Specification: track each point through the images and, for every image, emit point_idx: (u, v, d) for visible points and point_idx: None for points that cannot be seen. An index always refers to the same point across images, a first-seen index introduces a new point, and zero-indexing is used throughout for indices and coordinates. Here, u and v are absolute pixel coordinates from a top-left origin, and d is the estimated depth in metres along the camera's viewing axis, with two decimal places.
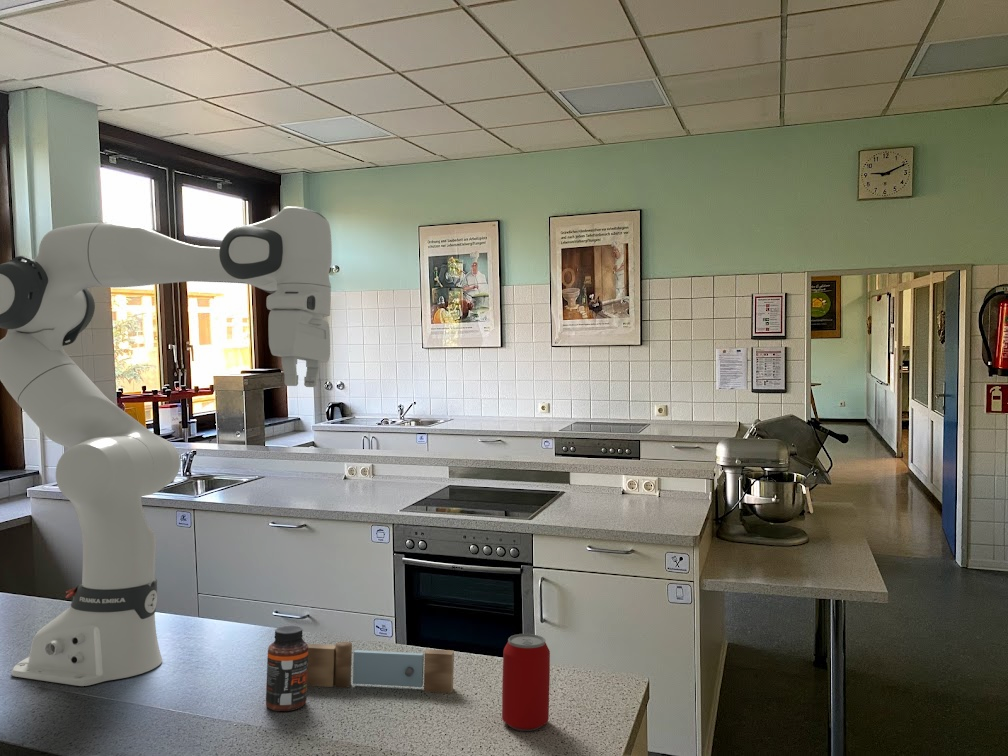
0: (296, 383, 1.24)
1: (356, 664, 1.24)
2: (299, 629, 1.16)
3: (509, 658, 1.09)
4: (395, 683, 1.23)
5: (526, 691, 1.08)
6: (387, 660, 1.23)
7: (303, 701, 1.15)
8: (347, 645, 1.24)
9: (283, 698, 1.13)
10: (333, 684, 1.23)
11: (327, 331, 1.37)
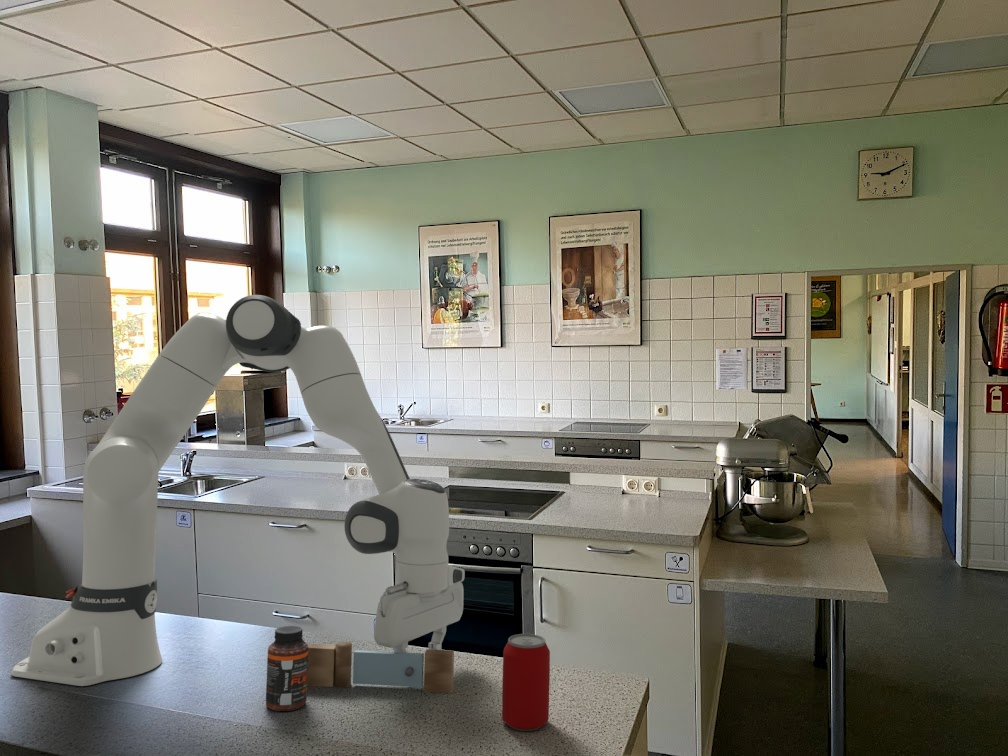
0: None
1: (356, 664, 1.24)
2: (299, 629, 1.16)
3: (509, 658, 1.09)
4: (395, 683, 1.23)
5: (526, 691, 1.08)
6: (387, 660, 1.23)
7: (303, 701, 1.15)
8: (347, 645, 1.24)
9: (283, 698, 1.13)
10: (333, 684, 1.23)
11: None
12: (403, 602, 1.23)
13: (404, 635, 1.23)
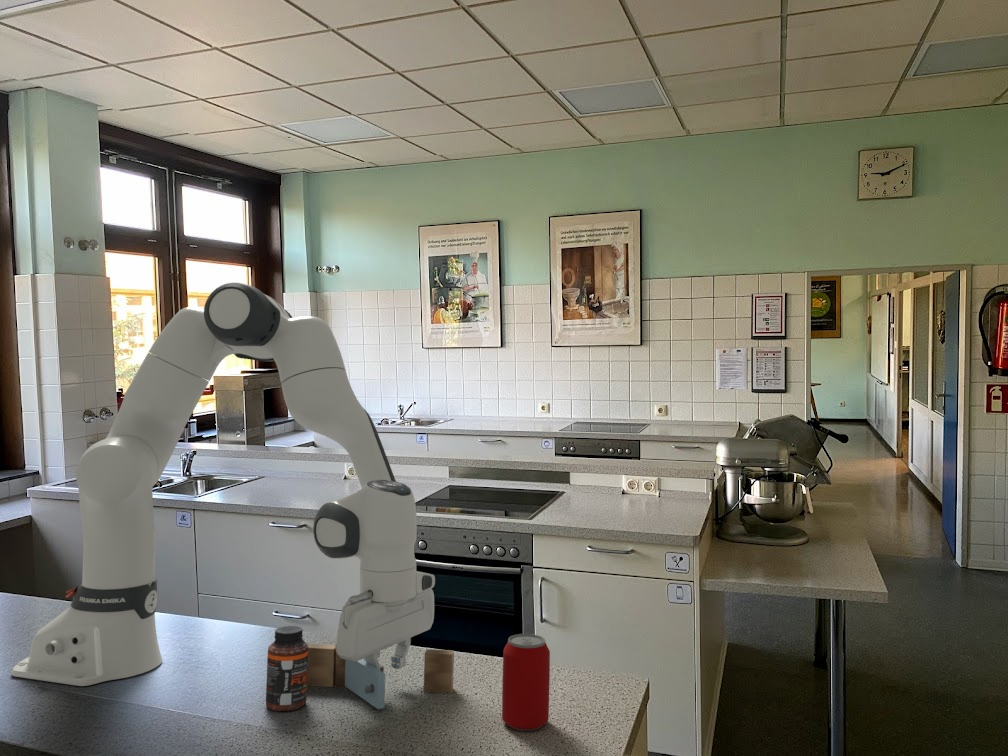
0: None
1: (346, 667, 1.22)
2: (299, 629, 1.16)
3: (509, 658, 1.09)
4: (364, 697, 1.17)
5: (526, 691, 1.08)
6: (361, 671, 1.18)
7: (303, 701, 1.15)
8: None
9: (283, 698, 1.13)
10: (333, 684, 1.23)
11: None
12: (367, 612, 1.15)
13: (369, 648, 1.15)
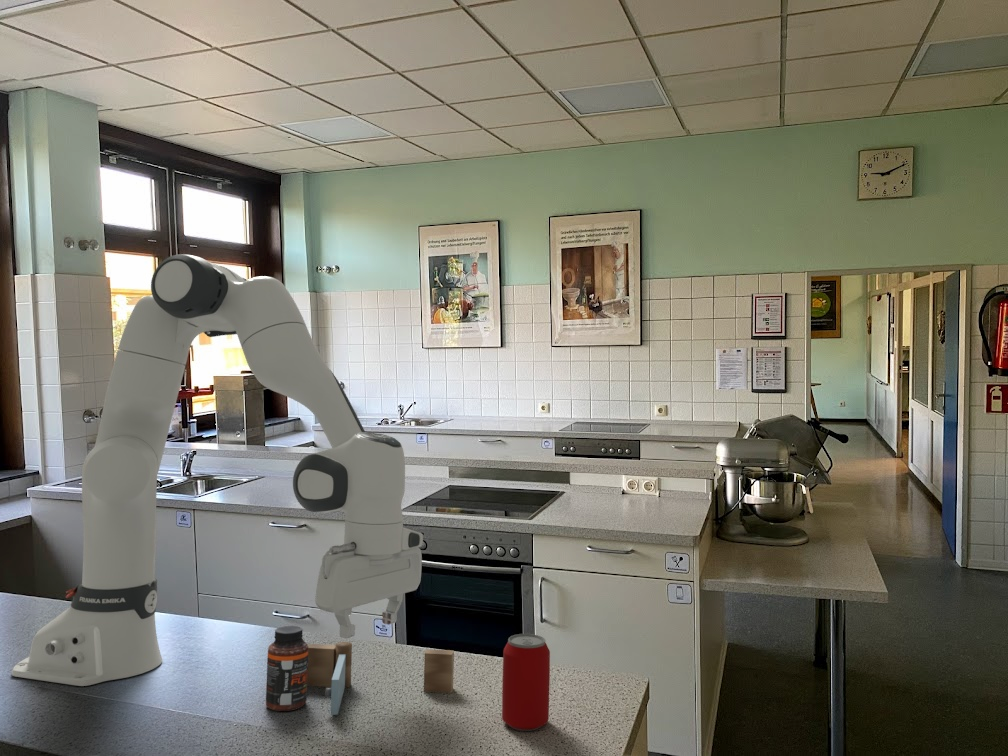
0: None
1: None
2: (299, 629, 1.16)
3: (509, 658, 1.09)
4: None
5: (526, 691, 1.08)
6: None
7: (303, 701, 1.15)
8: (347, 645, 1.24)
9: (283, 698, 1.13)
10: None
11: None
12: (348, 563, 1.11)
13: (349, 600, 1.12)
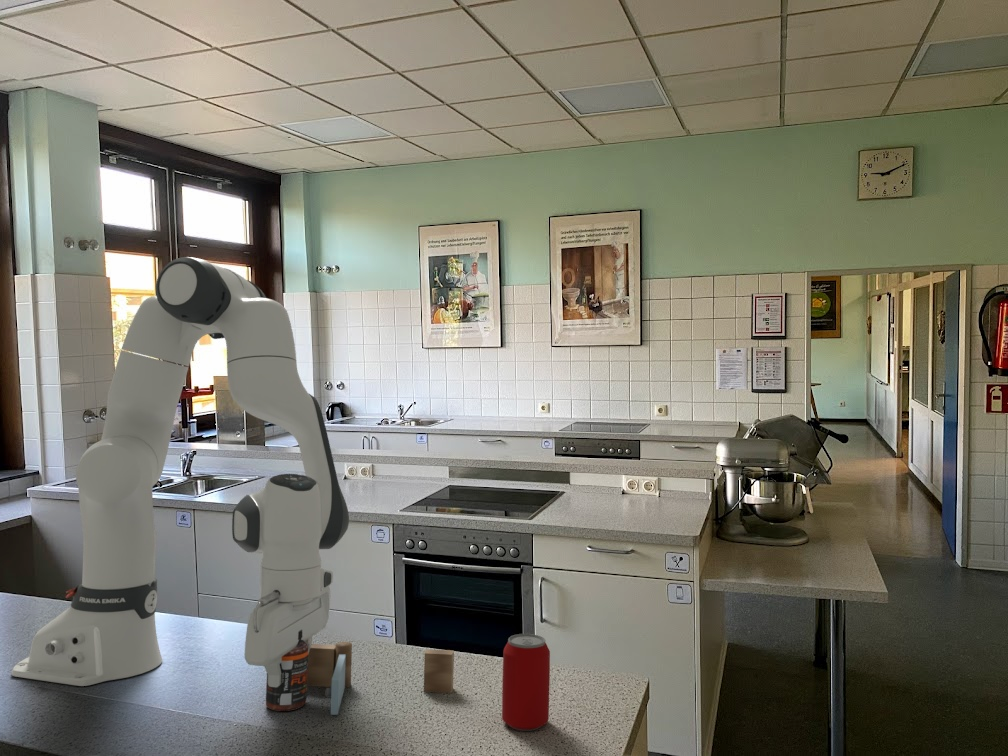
0: None
1: None
2: None
3: (509, 658, 1.09)
4: None
5: (526, 691, 1.08)
6: None
7: (303, 701, 1.15)
8: (347, 645, 1.24)
9: (283, 698, 1.13)
10: None
11: None
12: (278, 613, 1.09)
13: (279, 651, 1.09)
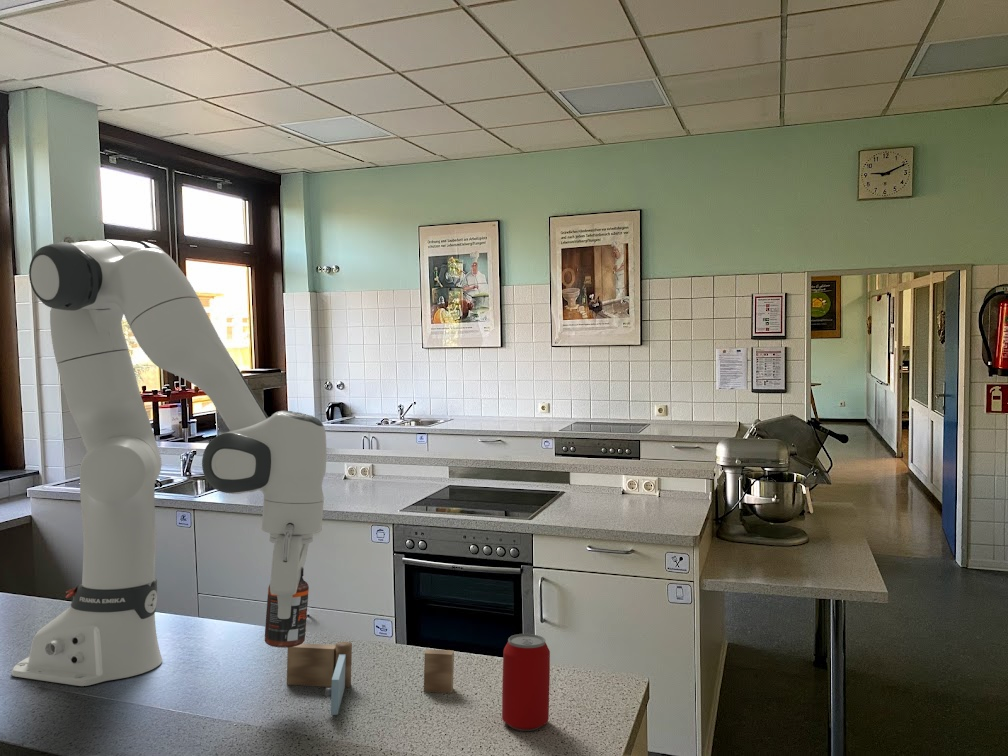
0: None
1: None
2: None
3: (509, 658, 1.09)
4: None
5: (526, 691, 1.08)
6: None
7: (304, 637, 1.17)
8: (347, 645, 1.24)
9: (291, 634, 1.14)
10: None
11: None
12: (300, 544, 1.10)
13: (298, 581, 1.11)
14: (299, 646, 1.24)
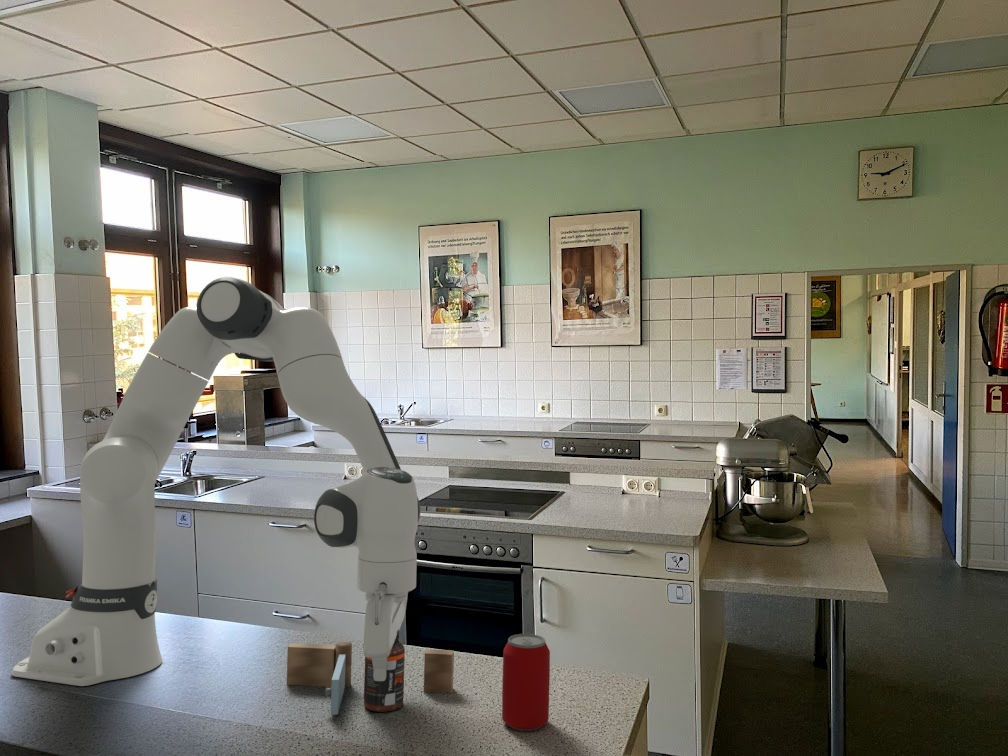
0: None
1: None
2: None
3: (509, 658, 1.09)
4: None
5: (526, 691, 1.08)
6: None
7: (402, 700, 1.16)
8: (347, 645, 1.24)
9: (388, 698, 1.13)
10: None
11: None
12: (392, 605, 1.09)
13: (392, 642, 1.10)
14: (299, 646, 1.24)
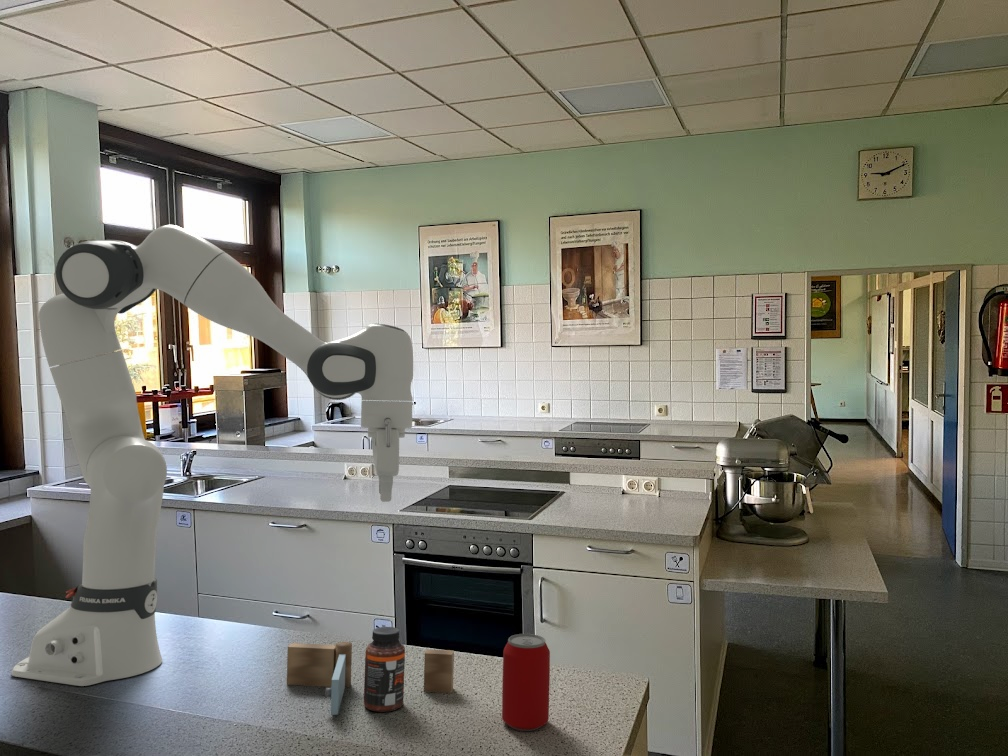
0: None
1: None
2: (397, 630, 1.17)
3: (509, 658, 1.09)
4: None
5: (526, 691, 1.08)
6: None
7: (402, 700, 1.16)
8: (347, 645, 1.24)
9: (388, 698, 1.13)
10: None
11: None
12: None
13: None
14: (299, 646, 1.24)
